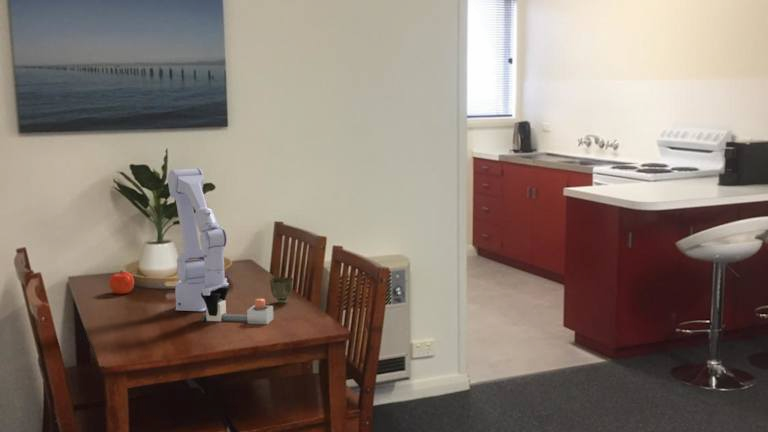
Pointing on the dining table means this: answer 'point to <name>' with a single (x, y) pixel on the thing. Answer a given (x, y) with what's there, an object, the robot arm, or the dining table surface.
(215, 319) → the block
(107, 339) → the dining table surface
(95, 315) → the dining table surface
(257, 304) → the button
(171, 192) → the robot arm
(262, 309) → the button housing
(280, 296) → the cup
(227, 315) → the rail
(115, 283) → the apple
